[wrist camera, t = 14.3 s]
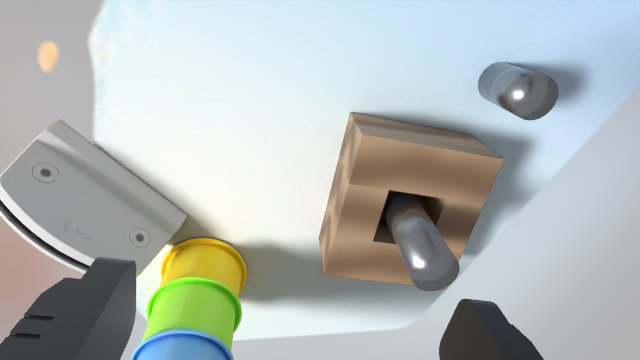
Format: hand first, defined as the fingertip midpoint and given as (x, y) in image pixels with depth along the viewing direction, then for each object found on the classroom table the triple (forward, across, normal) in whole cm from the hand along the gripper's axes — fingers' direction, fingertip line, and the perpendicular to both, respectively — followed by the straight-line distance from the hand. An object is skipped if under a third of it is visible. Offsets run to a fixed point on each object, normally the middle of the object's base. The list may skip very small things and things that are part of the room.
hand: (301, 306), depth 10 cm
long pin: (+32, -14, +11) cm, 37 cm away
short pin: (+32, -22, -3) cm, 39 cm away
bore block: (+32, -14, +11) cm, 37 cm away
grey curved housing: (+32, +17, +17) cm, 40 cm away
